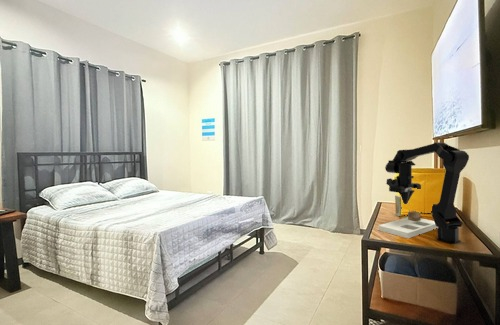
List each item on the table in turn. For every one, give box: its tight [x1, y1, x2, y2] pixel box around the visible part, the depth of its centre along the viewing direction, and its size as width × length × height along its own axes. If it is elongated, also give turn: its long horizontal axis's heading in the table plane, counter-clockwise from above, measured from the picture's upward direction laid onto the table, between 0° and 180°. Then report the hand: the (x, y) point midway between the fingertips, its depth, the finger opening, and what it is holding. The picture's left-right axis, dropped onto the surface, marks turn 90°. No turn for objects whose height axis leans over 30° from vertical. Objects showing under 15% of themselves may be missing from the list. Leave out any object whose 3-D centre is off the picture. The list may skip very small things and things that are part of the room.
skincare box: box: [394, 194, 402, 217], centre depth 151 cm, size 6×4×12 cm
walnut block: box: [407, 210, 422, 221], centre depth 134 cm, size 4×4×4 cm
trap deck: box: [377, 216, 438, 239], centre depth 128 cm, size 14×28×2 cm, turn 119°
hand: (405, 203), depth 131 cm, fingers closed
